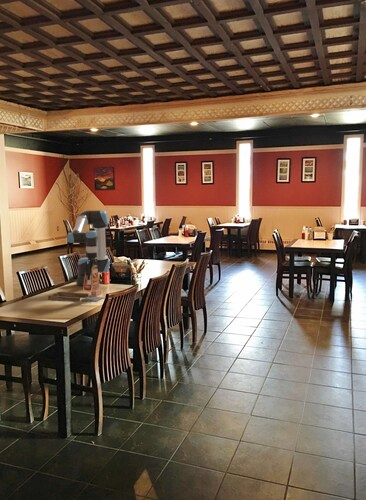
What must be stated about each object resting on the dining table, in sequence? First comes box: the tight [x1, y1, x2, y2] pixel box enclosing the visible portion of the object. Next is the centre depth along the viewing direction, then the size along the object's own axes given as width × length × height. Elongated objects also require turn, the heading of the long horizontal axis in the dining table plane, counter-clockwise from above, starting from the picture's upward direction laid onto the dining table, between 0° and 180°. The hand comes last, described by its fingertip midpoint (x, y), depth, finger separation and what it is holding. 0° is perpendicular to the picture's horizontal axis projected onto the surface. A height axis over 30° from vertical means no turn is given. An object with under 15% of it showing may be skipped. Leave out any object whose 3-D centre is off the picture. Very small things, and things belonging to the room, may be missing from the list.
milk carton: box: [82, 265, 100, 293], centre depth 306 cm, size 9×9×20 cm
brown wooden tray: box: [47, 291, 89, 302], centre depth 312 cm, size 15×24×2 cm, turn 78°
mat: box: [80, 295, 104, 303], centre depth 308 cm, size 12×12×1 cm
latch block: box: [90, 284, 103, 297], centre depth 322 cm, size 10×4×7 cm, turn 168°
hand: (92, 283), depth 307 cm, fingers closed on milk carton, 8 cm apart
